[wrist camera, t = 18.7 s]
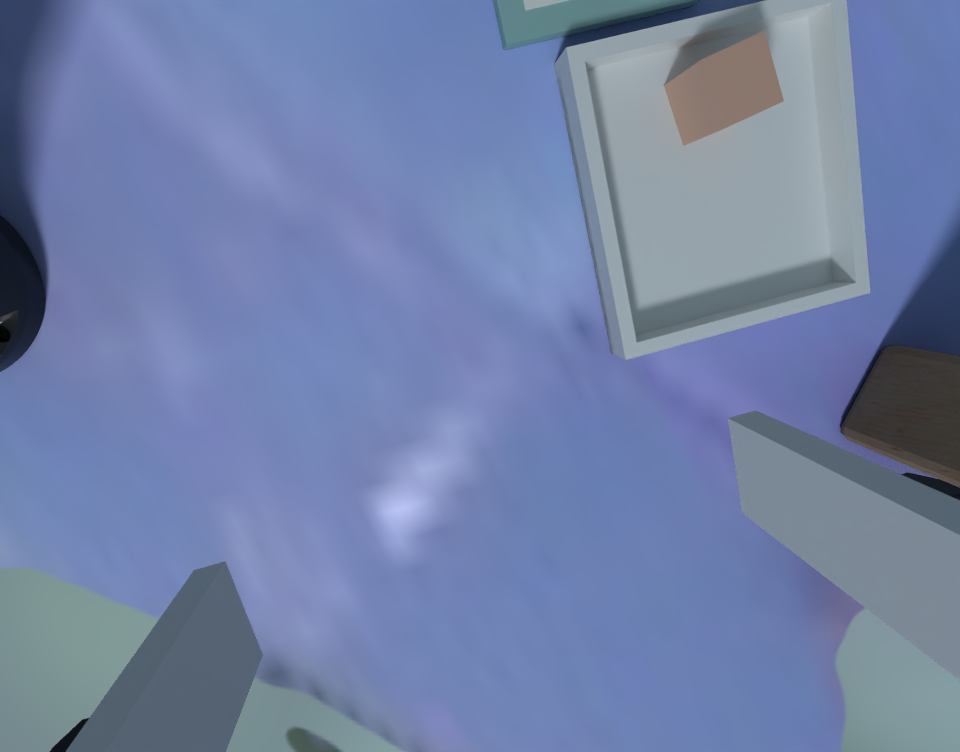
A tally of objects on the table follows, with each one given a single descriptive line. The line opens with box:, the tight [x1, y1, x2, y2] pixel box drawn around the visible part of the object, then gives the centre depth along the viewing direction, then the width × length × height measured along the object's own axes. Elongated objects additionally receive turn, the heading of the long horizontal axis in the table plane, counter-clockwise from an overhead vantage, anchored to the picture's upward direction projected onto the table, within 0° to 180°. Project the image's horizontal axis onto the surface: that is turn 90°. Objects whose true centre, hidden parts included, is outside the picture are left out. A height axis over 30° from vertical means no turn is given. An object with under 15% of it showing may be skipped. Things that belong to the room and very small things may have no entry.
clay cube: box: [664, 31, 784, 146], centre depth 42 cm, size 5×5×6 cm
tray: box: [555, 0, 870, 360], centre depth 46 cm, size 22×24×4 cm
